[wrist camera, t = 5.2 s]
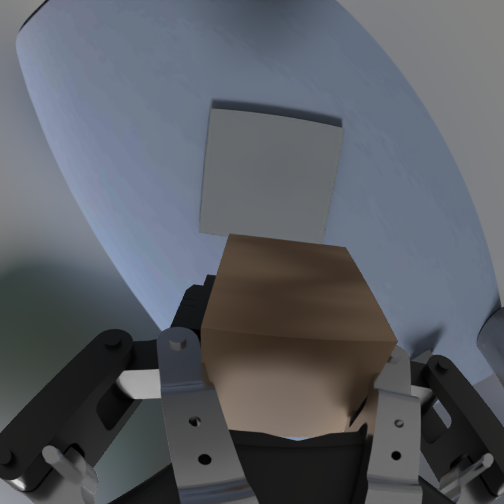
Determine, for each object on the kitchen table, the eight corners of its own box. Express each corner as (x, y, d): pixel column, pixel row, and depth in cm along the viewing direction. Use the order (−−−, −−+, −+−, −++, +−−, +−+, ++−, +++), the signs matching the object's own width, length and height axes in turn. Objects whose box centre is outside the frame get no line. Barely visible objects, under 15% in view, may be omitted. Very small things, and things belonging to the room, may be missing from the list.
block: (345, 247, 12) (397, 341, 6) (319, 335, 14) (339, 435, 9) (229, 233, 12) (200, 327, 6) (222, 326, 14) (203, 429, 8)
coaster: (342, 128, 23) (344, 128, 23) (319, 246, 28) (320, 249, 28) (212, 109, 24) (210, 108, 23) (201, 229, 28) (199, 232, 28)
